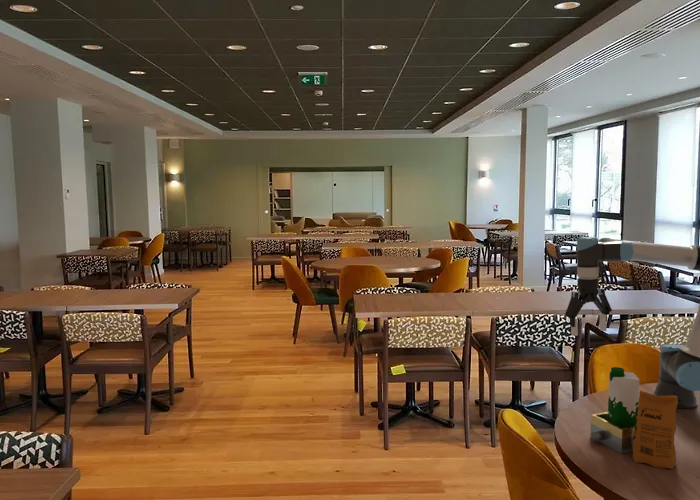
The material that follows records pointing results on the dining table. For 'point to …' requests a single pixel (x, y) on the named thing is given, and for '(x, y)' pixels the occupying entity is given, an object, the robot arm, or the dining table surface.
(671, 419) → the coffee package
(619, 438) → the open square tray
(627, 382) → the soya milk
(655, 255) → the robot arm
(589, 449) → the dining table surface
